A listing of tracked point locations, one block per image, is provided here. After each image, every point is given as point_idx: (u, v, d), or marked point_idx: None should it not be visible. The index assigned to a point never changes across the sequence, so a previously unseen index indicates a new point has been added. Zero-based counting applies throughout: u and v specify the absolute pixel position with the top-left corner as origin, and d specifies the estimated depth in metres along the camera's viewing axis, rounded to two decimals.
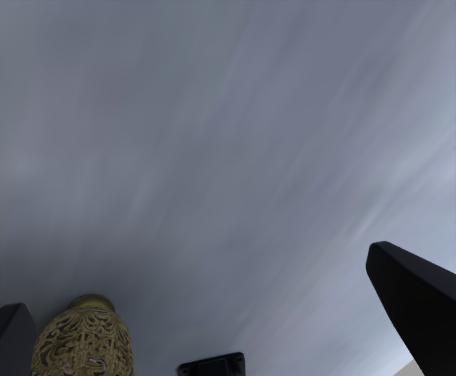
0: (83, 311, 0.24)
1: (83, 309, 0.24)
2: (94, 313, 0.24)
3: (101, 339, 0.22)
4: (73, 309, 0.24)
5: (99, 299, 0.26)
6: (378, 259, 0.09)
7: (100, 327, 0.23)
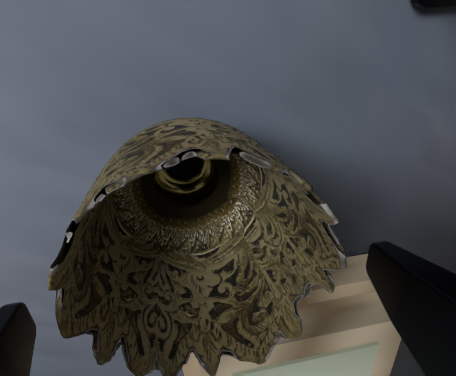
0: None
1: None
2: None
3: None
4: None
5: None
6: (378, 259, 0.09)
7: None
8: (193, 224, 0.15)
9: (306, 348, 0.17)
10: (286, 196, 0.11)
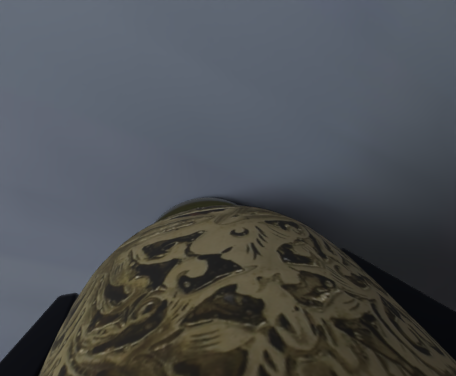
0: None
1: None
2: None
3: None
4: None
5: None
6: None
7: (45, 360, 0.05)
8: None
9: None
10: None
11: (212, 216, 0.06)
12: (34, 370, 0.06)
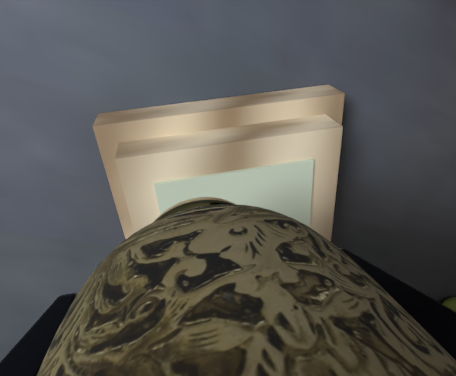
0: None
1: None
2: None
3: None
4: None
5: None
6: None
7: (43, 361, 0.05)
8: None
9: (232, 156, 0.16)
10: None
11: (211, 215, 0.06)
12: (34, 370, 0.06)
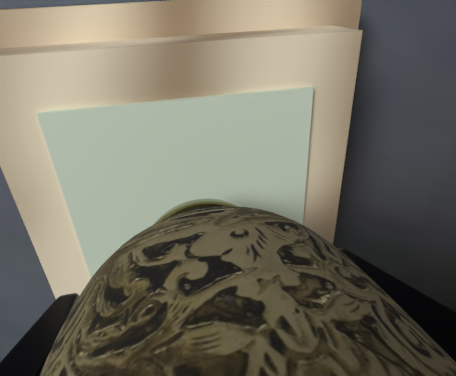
0: None
1: None
2: None
3: None
4: None
5: None
6: None
7: (45, 363, 0.05)
8: None
9: (176, 71, 0.10)
10: None
11: (212, 218, 0.06)
12: (34, 370, 0.06)
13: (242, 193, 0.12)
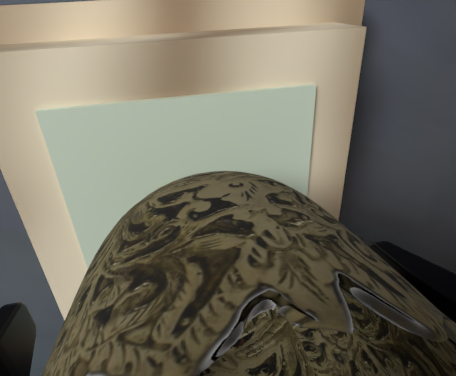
0: None
1: None
2: None
3: (66, 319, 0.05)
4: None
5: None
6: None
7: None
8: None
9: (177, 68, 0.09)
10: None
11: (213, 176, 0.07)
12: None
13: None
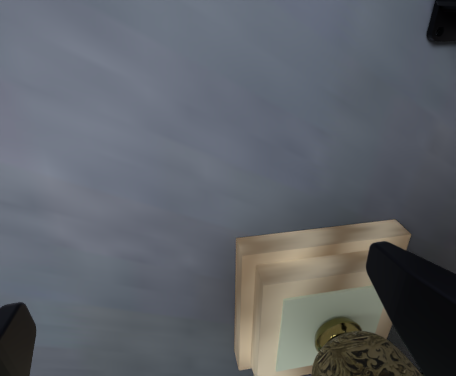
0: (314, 371, 0.22)
1: (313, 368, 0.22)
2: (319, 367, 0.22)
3: None
4: None
5: (321, 333, 0.24)
6: (378, 259, 0.09)
7: None
8: None
9: (338, 282, 0.24)
10: None
11: (366, 341, 0.21)
12: None
13: None
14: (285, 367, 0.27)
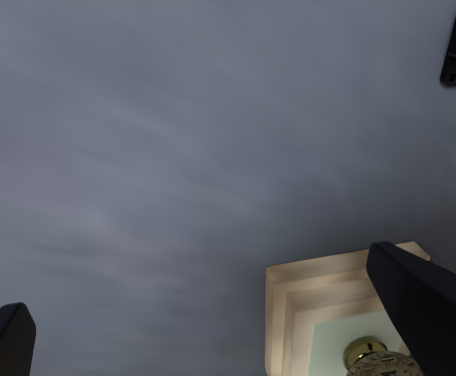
0: None
1: None
2: None
3: None
4: None
5: (349, 353, 0.26)
6: (378, 259, 0.09)
7: None
8: None
9: (364, 306, 0.25)
10: None
11: (393, 362, 0.23)
12: None
13: None
14: None
